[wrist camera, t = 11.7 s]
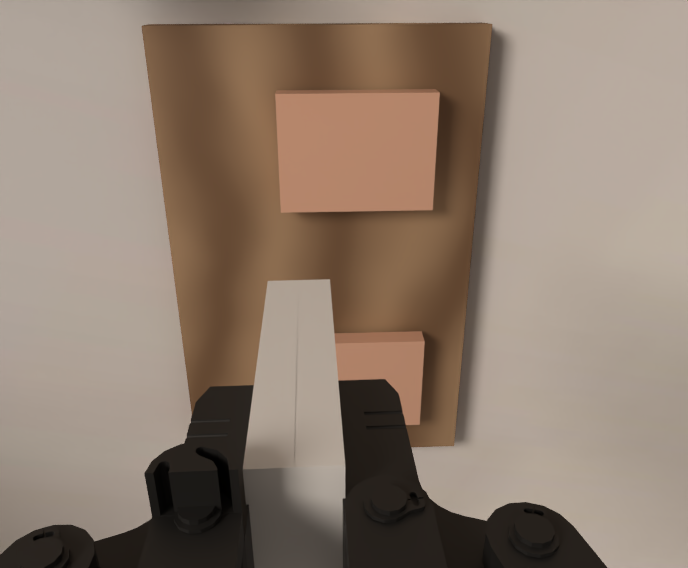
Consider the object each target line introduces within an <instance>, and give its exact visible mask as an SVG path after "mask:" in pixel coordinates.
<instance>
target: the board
mask: <svg viewBox="0 0 688 568" xmlns="http://www.w3.org/2000/svg"><path fill="white" fill-rule="evenodd" d="M491 32H492V24H488V23H351V24H149V25H144V26H142V33H143V40H144V48H145V56H146V63H147V71H148V79H149V86H150V94H151V102H152V110H153V117H154V125H155V133H156V140H157V148H158V156H159V163H160V171H161V179H162V187H163V194H164V202H165V210H166V217H167V225H168V233H169V240H170V248H171V256H172V264H173V271H174V279H175V287H176V294H177V302H178V310H179V317H180V325H181V333H182V341H183V348H184V356H185V364H186V371H187V379H188V387H189V394H190V402H191V410H192V414H193V410H194V407H195V403H196V401H197V400H198V399H199V398H200V397H201V396H202V395H203V394H204V393H205V392H206V391H207V390H208V388H209V387H212V386H242V385H254V381H255V373H256V366H257V358H258V350H259V343H260V335H261V328H262V320H263V313H264V305H265V298H266V290H267V283H268V281H282V280H321V279H330V287H331V299H332V311H333V323H334V333H368V332H411V331H422V334H423V338H424V341H425V345H424V361H423V378H422V394H421V411H420V425H406V428H407V432H408V436H409V440H410V445H411V447H432V446H454V439H455V428H456V417H457V406H458V395H459V384H460V373H461V362H462V351H463V340H464V329H465V318H466V307H467V296H468V285H469V274H470V263H471V252H472V241H473V230H474V219H475V208H476V197H477V186H478V175H479V164H480V153H481V142H482V131H483V120H484V109H485V98H486V87H487V76H488V65H489V54H490V43H491ZM387 89H436V90H437V91H439V92H440V98H439V115H438V131H437V148H436V164H435V181H434V197H433V210H414V211H352V212H290V213H281V205H280V184H279V164H278V143H277V122H276V101H275V93H276V91H277V90H387Z"/></svg>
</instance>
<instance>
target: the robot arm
mask: <svg viewBox="0 0 688 568" xmlns="http://www.w3.org/2000/svg"><path fill="white" fill-rule="evenodd" d="M145 479H146V484H147V490H148V495H149V501H150V507H151V512H152V519H151V520H149V521H148V522H146V523H144V524H143V525H141V526H139V527H138V528H135V529H133V530H130V531H127V532H125V533H122V534H119V535H115V536H112V537H109V538H105V539H102V540H99V541H95V542H94V540H93V539H92V537H91V536H90V535H89V534H88V533H87V531H86V530H84V529H81V528H79V527H76V526H73V525H52V526H49V527H45V528H42V529H38V530H35V531H33V532H31V533H29V534H27V535H25V536H24V537H22V538H20V539H18V540H16V541H15V542H14V543H13V544H12V545H11V546H9V547H8V548H7V549H6V550H5V551H4V552H3V553H2V554H1V555H0V568H607V567H606V565H605V564H604V563H603V562H602V561H601V559H600V558H599V557H598V556H597V554H596V553H595V552H594V551H593V550H592V548H591V547H590V546H589V545H588V543H587V542H586V541H585V540H584V539H583V537H582V536H581V535H580V534H579V532H578V531H577V530H576V529H575V528H574V526H573V525H572V524H570V523H569V522H568V521H567V520H566V519H565V518H564V517H563V516H561V515H560V514H559V513H557V512H555V511H553V510H551V509H549V508H547V507H545V506H541V505H537V504H532V503H527V502H522V503H509V504H507V505H505V506H502V507H500V508H498V509H496V510H495V511H494V512H493V513H492V515H491V516H490V517H489V518H488V520H487V521H484V520H480V519H475V518H471V517H466V516H462V515H459V514H456V513H452V512H450V511H448V510H446V509H444V508H442V507H440V506H438V505H437V504H436V503H435V502H433V501H432V500H431V499H430V498H429V497H428V495H427V493H426V492H425V491H424V490H423V489H422V487H421V485H420V482H419V479H418V475H417V471H416V466H415V462H414V458H413V453H412V449H411V445H410V440H409V436H408V432H407V428H406V423H405V419H404V414H403V410H402V406H401V401H400V397H399V393H398V392H397V391H396V390H395V389H394V388H393V387H392V386H391V385H390V384H389V383H388V382H387V380H386V379H369V380H339V381H338V371H337V359H336V347H335V335H334V323H333V311H332V299H331V287H330V279H321V280H282V281H268V283H267V290H266V298H265V305H264V313H263V320H262V328H261V335H260V343H259V350H258V358H257V366H256V373H255V381H254V385H242V386H212V387H209V388H208V390H207V391H206V392H205V393H204V394H203V395H202V396H201V397H200V398H199V399H198V400H197V401H196V403H195V407H194V410H193V414H192V418H191V424H190V425H189V429H188V433H187V438H186V440H185V444H180V445H178V446H176V447H173V448H171V449H169V450H166V451H164V452H163V453H162V454H161V455H159V456H158V457H157V458H155V459H154V460H153V461H152V462H151V464H150V465H149V467H148V469H147V470H146V472H145Z"/></svg>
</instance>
